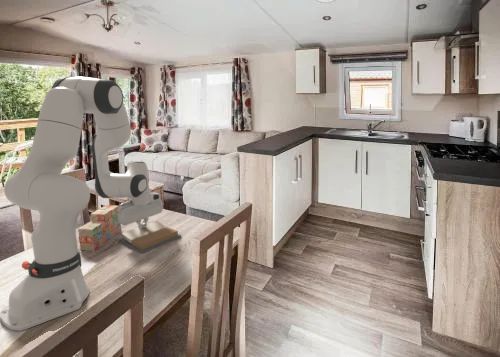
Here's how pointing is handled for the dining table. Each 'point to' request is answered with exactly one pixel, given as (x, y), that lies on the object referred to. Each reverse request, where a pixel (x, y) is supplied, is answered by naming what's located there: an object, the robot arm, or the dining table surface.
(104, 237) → the stack of blocks
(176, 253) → the dining table surface
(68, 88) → the robot arm
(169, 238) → the board
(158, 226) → the ash plank
